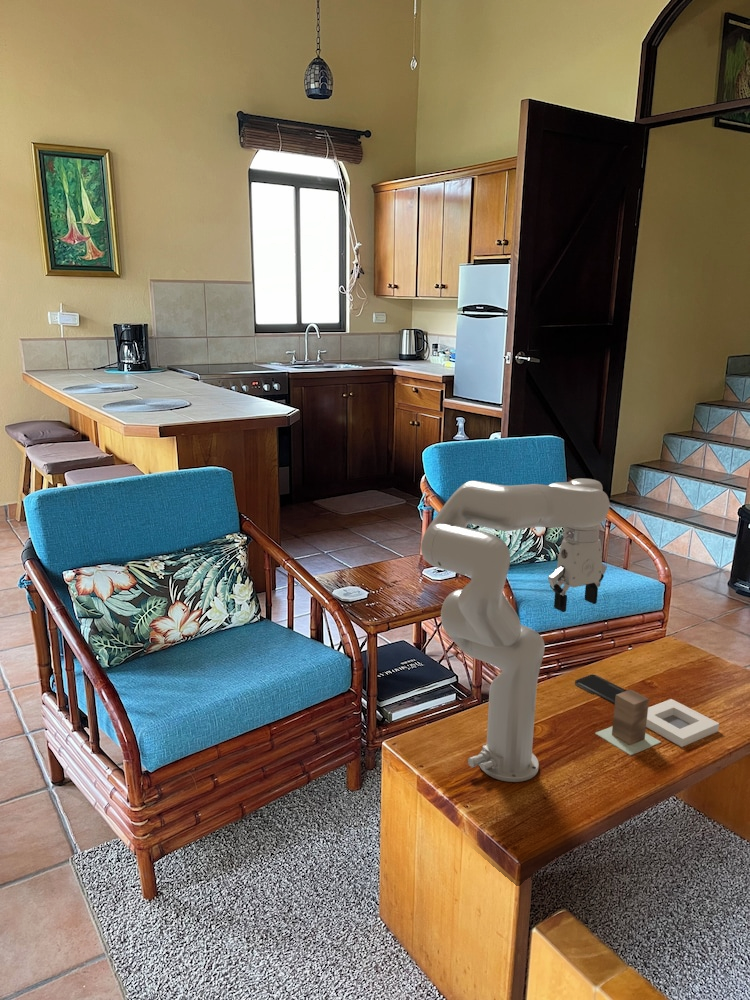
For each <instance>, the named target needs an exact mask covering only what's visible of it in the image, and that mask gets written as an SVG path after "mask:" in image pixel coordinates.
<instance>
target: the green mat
mask: <svg viewBox="0 0 750 1000" xmlns="http://www.w3.org/2000/svg"><path fill="white" fill-rule="evenodd" d="M612 727H613V725H611V726H609V727H607V728H604V729H601V730H599V731H596V732H594V733H595V735H596V736H598V737H600V738H601V739H603V740H605V741H606V742H608V743H609V744H611V745H612V746H614V747H616V748H617V749H619V750H621V751H623V752H624V753H625V754H627V755H629V756H633V755H636V754H637V753H640V752H642V751H644V750H647V749H649V748H652V747H655V746H657V745H659V744H661V743H662V741H661V740H659V739H657V738H656V737H653V736H652V735H651V734H648V733H646V732H645V739H644V740H642V741H639V742H637V743H635V744H632V745H630V746H629V745H628V744H626V743H624V742H623V741H621V740H619V739H618V738H616V737H614V736H613V735H612Z"/></svg>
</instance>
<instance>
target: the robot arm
mask: <svg viewBox="0 0 750 1000" xmlns="http://www.w3.org/2000/svg"><path fill="white" fill-rule="evenodd" d="M603 489H604V488H603V484H602V483H601V481H599V480H596V479H594V478H593V479H592V478H582V477H581V478H575V479H571V480H570V481H567V482H566V481H562V482H561V481H560V482H558V481H557V482H552V483H550V484H548V485H547V484H540V483H531V484H518V485H517V484H516V485H514V484H513V485H512V484H511V485H503V484H496V483H490V482H484V481H480V480H469V481H466V482H465V483H463V484H461V486H459V487H458V488H457V489H456V490H455V491H454V492H453V493H452V495H451V496H450V497H448V500H446V502H445V503H444V505H443V506H442V507H441V509H440V510H439V511H438V512H437V514H436V515H435V516H434V518H433V520H431V522H430V524H429V525H428V527H427V528H426V530H425V532H424V534H423V537H422V539H421V545H420V550H421V556H422V557H423V559H424V560H425V562H426V563H428V564H429V565H430V566H432V567H435V568H437V569H441V570H445V571H448V572H452V573H455V574H460V575H462V576H464V577H465V576H466V577H470V581H469V582H468V583H467V584H466V585H464V587H463V588H459V589H456V590H454V591H452V592H450V593H449V594H448V595H447V596H446V598H445V599H444V601H443V603H442V606H441V608H440V609H441V610H440V621H441V626H442V627H443V630H444V632H445V633H446V634H447V636H448V637H449V638H450V639H451V640H452V641H453V642H454V643H455V645H457V647H458V648H459V649H460V651H462V652H463V653H464V654H466V655H467V656H469V657H471V658H472V659H476V660H478V661H482V662H484V663H487V664H489V665H492V666H494V667H497V668H499V669H500V673H499V674H498V675H497V676H495V678H493V680H492V682H491V683H490V685H489V690H488V691H489V692H488V693H489V694H488V696H489V697H488V715H487V727H486V728H487V729H486V731H487V732H486V744H484V745H482V750H481V751H480V752H479V754H478V755H477V754H476V755H473V756H470V757H468V758H467V763H468V765H469V767H470V768H474V767H477V766H479V767H480V769H481V770H482V771H483V772H484V773H485V774H486V775H488V776H490V777H491V778H493V779H496V780H498V781H503V782H510V783H512V782H513V783H519V782H524V781H528V780H530V779H532V778H534V777H535V776H536V775H537V774H538V772H539V767H540V765H539V764H540V763H539V760H538V758H537V756H536V755H535V754H534V753H533V743H534V742H533V741H534V729H535V728H534V727H535V714H536V700H537V691H538V690H537V688H538V681H539V674H540V671H541V668H542V667H541V666H542V662H543V659H544V655H545V648H546V646H545V641H544V638H543V637H542V635H541V634H539V633H538V632H537V631H536V630H534V629H532V628H530V627H528V626H525V625H523V624H521V621H520V618H519V615H518V613H517V612H516V610H515V609H514V607H513V606H512V605H511V603H510V601H509V600H508V599H507V598H506V596H505V595H504V592H503V591H504V587H505V584H506V581H507V578H508V573H509V569H510V564H511V554H510V549H509V547H508V545H507V543H506V542H504V540H503V539H502V538H500V537H499V536H497V535H494V534H492V533H490V532H486V531H482V530H478V529H473V528H469V527H468V525H473V526H479V527H483V528H487V529H490V530H496V531H502V532H510V531H511V532H513V531H517V530H522V529H531V528H537V527H538V528H563V532H562V538H563V539H562V541H561V544H560V548H559V552H558V553H559V554H558V557H557V566H556V569H555V570H554V572H552V573H551V574H550V575H549V576H548V577H547V580H548V583H549V587H550V588H551V589H552V592H553V593H554V601H553V608H554V609H556V610H558V611H560V612H561V613H565V612H566V611H567V602H568V601H567V600H568V595H567V594H566V593H567V592H568V590H569V589H570V587H571V588H578V587H583V586H585V592H584V600H585V601H586V602H589V603H591V604H593V605H596V604H597V603H598V602H597V601H598V591H599V587H600V586H601V582H602V580H603V579H604V575H605V573H606V571H607V565H605V564H604V563H603V549H602V543H601V539H599V537H600V524H601V523H603V521H604V520H605V519H606V518H607V516H608V515H609V511H610V500H609V496H608V494H607V493H606V492H605V491H603ZM562 585H563V587H562Z"/></svg>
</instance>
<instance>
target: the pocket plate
mask: <svg viewBox="0 0 750 1000" xmlns="http://www.w3.org/2000/svg"><path fill="white" fill-rule="evenodd" d="M646 729H648V730H651V731H653V732H654V733H656V734H657V735H659V736H661V737H663V738H664V739H666V740H668V741H670V742H672V743H673V744H675V745H677V746H679V747H680V748H683V747H685V746H686V747H687V746H688V745H690V744H692V743H695V742H698V741H700V740H702V739H705V738H706V737H709V736H711V735H713V734H716V733H718V732H719V731H720V730H719V729H720V723H719V722H718V721H715V720H714V719H712V718H710V717H708V716H706V715H704V714H702V713H700V712H698V711H696V710H694V709H692V708H690V707H688V706H687V705H684V704H683V703H680V702H678V701H676V700H674V699H672V698H670V699H667V700H665V701H663V702H659V703H657V704H654V705H652V706H648V714H647V723H646Z"/></svg>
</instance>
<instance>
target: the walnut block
mask: <svg viewBox="0 0 750 1000" xmlns="http://www.w3.org/2000/svg"><path fill="white" fill-rule="evenodd" d="M649 702H650V698H648V697H647V696H644V695H642V694H641V693H639V692H637V691H635V690H633V689H629V690H627V691H625V692H622V693H619V694H617V695H616V697H615V704H614V708H613V720H612V726H613V727H612V726H611V727H612V735H613V736H614V737H616V738H618V739H619V740H621V741H623V742H624V743H626V744H628V745H629V746H630V745H632V744H635V743H637V742H639V741H642V740H644V739H645V733H646V732H647V731H646V730H647V727H646V723H647V714H648V707H649V704H650V703H649Z"/></svg>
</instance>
